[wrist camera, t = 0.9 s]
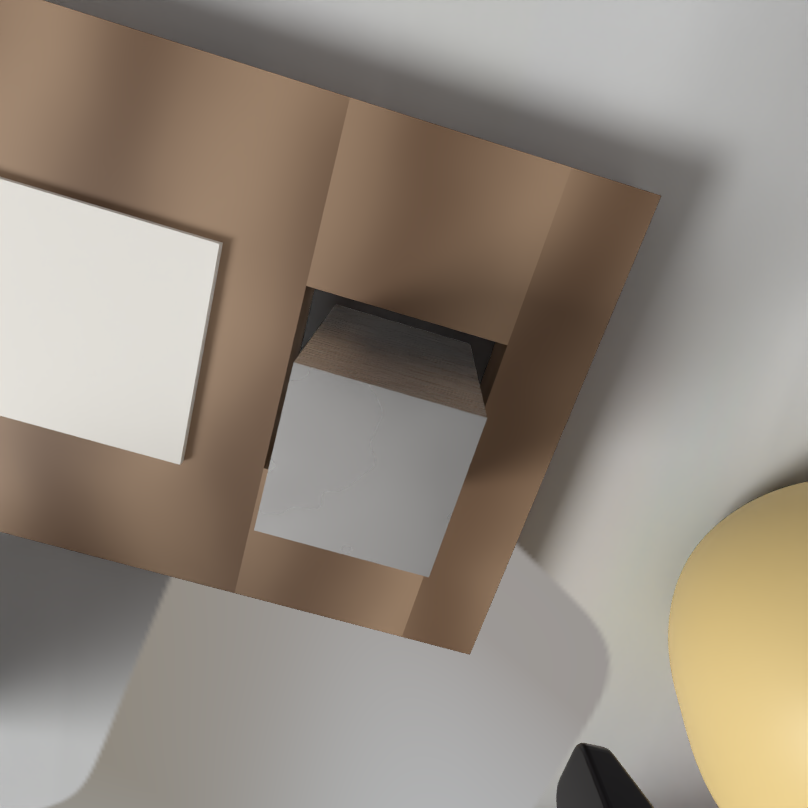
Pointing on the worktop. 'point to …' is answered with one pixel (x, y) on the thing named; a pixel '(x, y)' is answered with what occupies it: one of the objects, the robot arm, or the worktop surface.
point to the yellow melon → (747, 653)
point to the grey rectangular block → (373, 441)
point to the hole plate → (266, 307)
